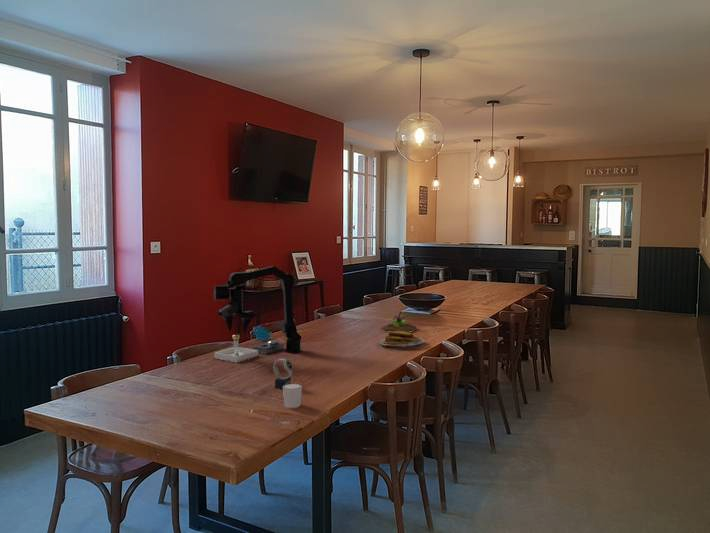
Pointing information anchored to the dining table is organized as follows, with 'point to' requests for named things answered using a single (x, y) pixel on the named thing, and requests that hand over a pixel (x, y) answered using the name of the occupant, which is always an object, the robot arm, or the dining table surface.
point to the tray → (229, 356)
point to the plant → (399, 325)
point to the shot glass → (292, 395)
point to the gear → (262, 333)
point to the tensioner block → (269, 347)
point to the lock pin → (236, 344)
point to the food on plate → (401, 339)
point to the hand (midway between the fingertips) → (237, 331)
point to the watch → (281, 379)
